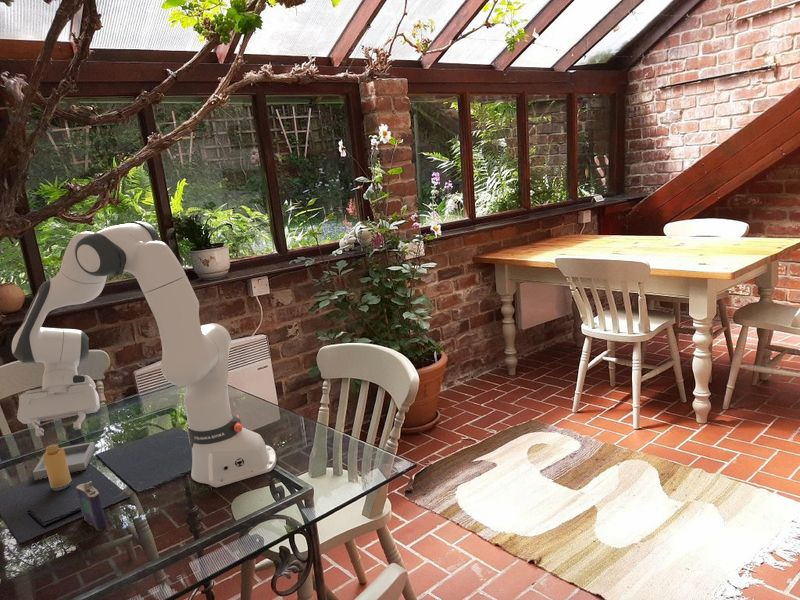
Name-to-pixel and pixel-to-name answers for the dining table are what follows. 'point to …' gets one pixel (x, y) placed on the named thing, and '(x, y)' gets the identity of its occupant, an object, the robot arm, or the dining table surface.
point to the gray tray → (70, 459)
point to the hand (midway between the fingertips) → (58, 432)
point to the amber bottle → (56, 466)
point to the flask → (91, 506)
